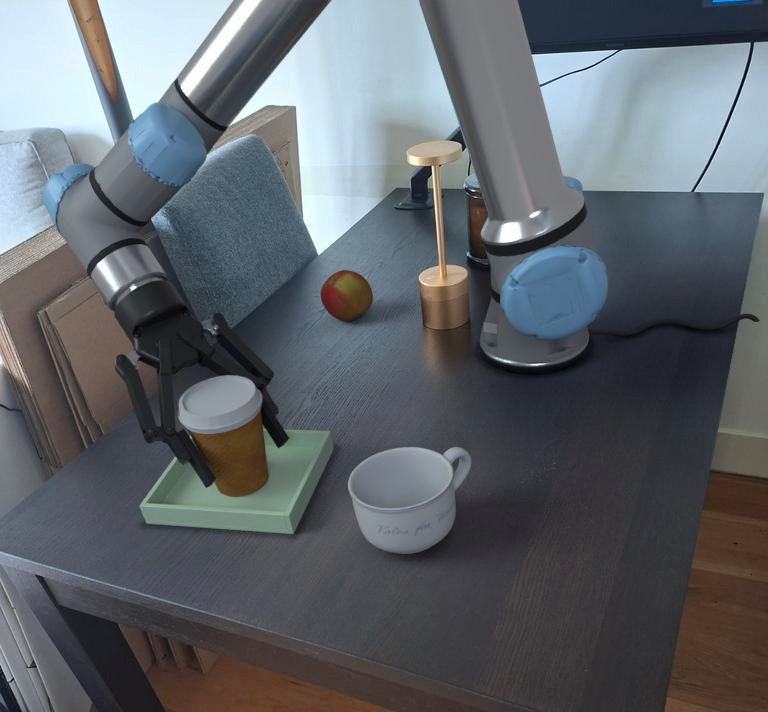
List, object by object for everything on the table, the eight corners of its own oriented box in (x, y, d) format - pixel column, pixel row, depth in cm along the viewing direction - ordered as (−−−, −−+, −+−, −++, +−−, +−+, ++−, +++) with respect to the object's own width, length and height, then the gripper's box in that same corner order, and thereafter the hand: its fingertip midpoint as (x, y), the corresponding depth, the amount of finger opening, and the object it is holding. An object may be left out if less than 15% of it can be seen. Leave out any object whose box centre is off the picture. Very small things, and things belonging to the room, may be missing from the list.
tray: (334, 448, 95) (330, 430, 93) (293, 534, 83) (288, 515, 82) (202, 443, 100) (196, 426, 98) (146, 523, 88) (138, 505, 86)
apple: (339, 307, 127) (331, 260, 122) (382, 311, 124) (376, 263, 119) (317, 327, 122) (308, 279, 117) (362, 332, 119) (355, 283, 114)
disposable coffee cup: (271, 449, 96) (249, 365, 88) (290, 490, 89) (268, 403, 81) (197, 471, 94) (168, 387, 86) (211, 515, 87) (180, 428, 79)
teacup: (381, 582, 76) (371, 522, 71) (343, 522, 84) (331, 463, 79) (503, 535, 79) (502, 474, 74) (455, 481, 87) (451, 422, 82)
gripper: (217, 280, 95) (314, 431, 95) (50, 348, 85) (159, 517, 85) (229, 247, 88) (334, 410, 88) (49, 317, 78) (168, 500, 78)
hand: (248, 462), depth 86 cm, fingers open, 9 cm apart
